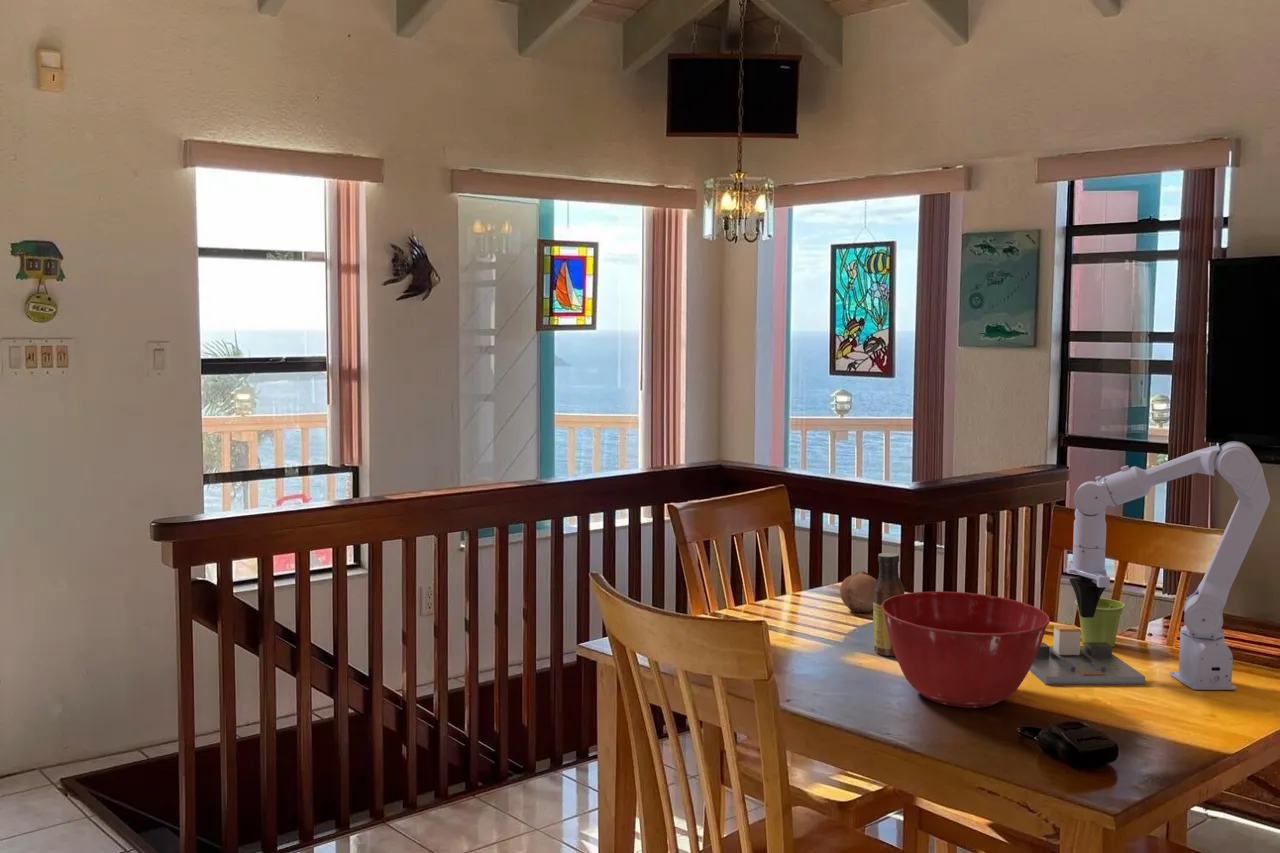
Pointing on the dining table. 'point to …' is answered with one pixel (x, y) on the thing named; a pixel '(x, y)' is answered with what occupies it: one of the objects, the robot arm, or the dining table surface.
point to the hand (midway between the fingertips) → (1086, 616)
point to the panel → (1084, 667)
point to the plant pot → (1102, 622)
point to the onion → (858, 592)
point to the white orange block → (1066, 639)
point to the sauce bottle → (883, 590)
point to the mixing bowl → (964, 644)
